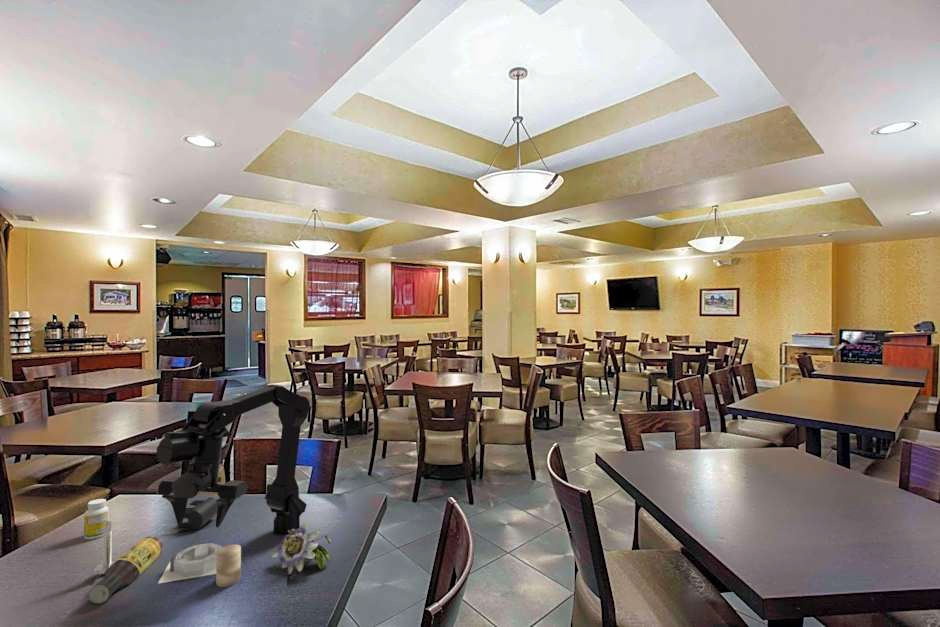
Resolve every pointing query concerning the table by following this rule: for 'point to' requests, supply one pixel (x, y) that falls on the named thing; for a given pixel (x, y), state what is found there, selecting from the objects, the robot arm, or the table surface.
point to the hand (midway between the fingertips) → (198, 525)
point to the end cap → (199, 514)
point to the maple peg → (228, 565)
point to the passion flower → (300, 549)
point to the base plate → (171, 576)
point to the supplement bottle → (95, 519)
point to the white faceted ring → (187, 567)
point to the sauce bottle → (127, 568)
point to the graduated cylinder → (106, 550)
